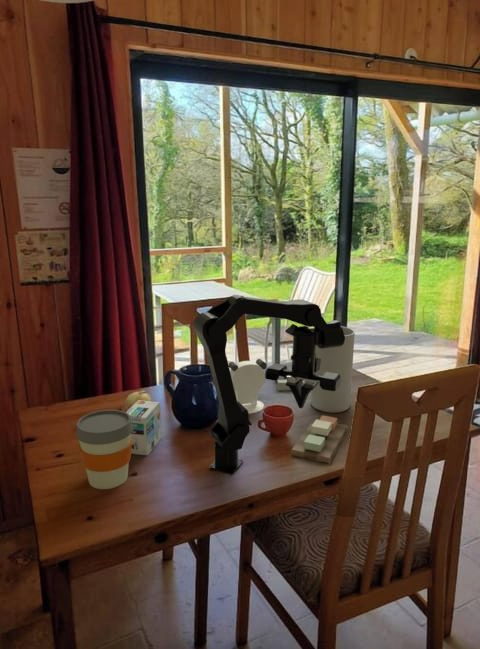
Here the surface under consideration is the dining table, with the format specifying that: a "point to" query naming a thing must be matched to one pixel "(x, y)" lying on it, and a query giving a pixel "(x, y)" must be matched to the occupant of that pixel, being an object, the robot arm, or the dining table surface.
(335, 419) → the salmon tan cube
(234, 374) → the panda figurine
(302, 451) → the walnut panel
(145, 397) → the onion
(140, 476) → the dining table surface
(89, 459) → the reusable coffee cup
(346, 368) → the cylinder vase
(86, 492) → the dining table surface
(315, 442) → the pale green cube
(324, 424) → the white cube
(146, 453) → the light bulb box
